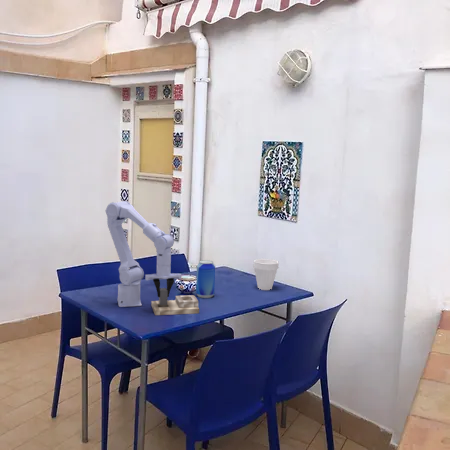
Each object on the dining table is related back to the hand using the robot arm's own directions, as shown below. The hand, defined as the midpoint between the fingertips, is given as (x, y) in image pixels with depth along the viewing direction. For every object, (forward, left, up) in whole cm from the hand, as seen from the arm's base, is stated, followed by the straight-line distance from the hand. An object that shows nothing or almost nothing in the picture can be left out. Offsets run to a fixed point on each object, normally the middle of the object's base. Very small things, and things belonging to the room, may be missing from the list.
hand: (163, 296), depth 213 cm
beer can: (+22, +18, -6) cm, 29 cm away
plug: (0, 0, -3) cm, 3 cm away
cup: (+54, +27, -6) cm, 61 cm away
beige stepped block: (+5, 0, -6) cm, 8 cm away
